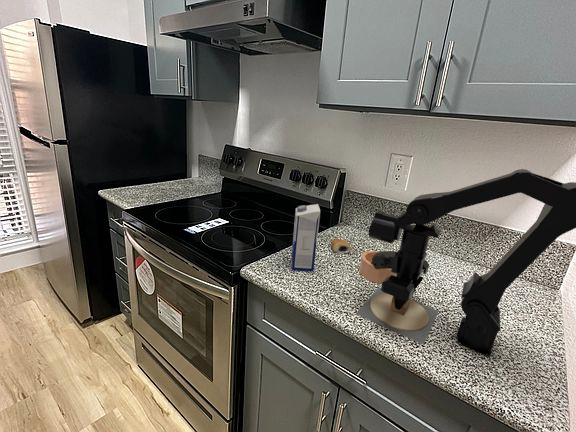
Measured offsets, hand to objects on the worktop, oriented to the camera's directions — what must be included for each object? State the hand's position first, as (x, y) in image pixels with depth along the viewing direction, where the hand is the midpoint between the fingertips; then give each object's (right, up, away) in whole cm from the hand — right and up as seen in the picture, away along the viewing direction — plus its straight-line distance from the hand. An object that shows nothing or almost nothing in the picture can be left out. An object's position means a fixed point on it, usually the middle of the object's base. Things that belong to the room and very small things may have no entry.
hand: (400, 305), depth 77 cm
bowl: (0, +4, +19) cm, 20 cm away
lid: (0, -2, +1) cm, 2 cm away
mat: (0, -2, +1) cm, 3 cm away
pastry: (-9, +10, +36) cm, 38 cm away
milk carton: (-24, +6, +21) cm, 32 cm away
